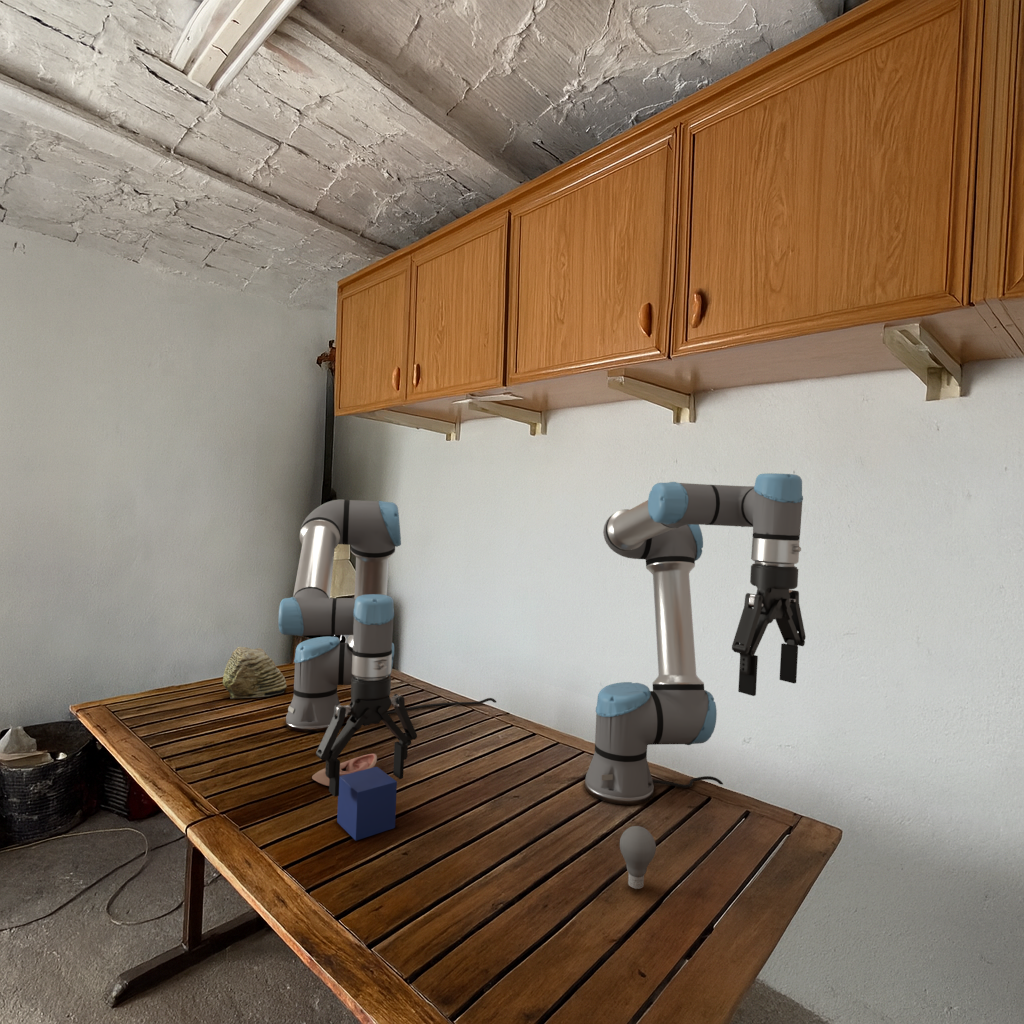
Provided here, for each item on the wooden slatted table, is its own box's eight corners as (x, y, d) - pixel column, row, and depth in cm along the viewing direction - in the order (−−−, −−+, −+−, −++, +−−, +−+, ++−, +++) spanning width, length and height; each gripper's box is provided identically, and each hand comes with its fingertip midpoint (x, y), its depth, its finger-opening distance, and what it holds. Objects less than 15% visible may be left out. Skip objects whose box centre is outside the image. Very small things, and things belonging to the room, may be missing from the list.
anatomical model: (305, 765, 139) (330, 745, 150) (304, 783, 139) (330, 762, 151) (361, 773, 137) (383, 752, 148) (360, 791, 137) (382, 769, 148)
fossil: (218, 695, 195) (220, 647, 195) (278, 685, 208) (279, 640, 207) (228, 703, 189) (230, 653, 188) (289, 692, 201) (290, 645, 201)
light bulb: (613, 876, 109) (616, 819, 109) (647, 876, 110) (650, 819, 110) (622, 898, 103) (625, 837, 103) (658, 897, 104) (661, 837, 104)
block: (336, 822, 124) (338, 776, 124) (375, 810, 129) (376, 766, 129) (355, 841, 117) (357, 792, 117) (395, 827, 123) (397, 781, 122)
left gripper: (316, 690, 112) (312, 809, 112) (436, 671, 128) (432, 776, 128) (300, 680, 118) (296, 793, 118) (417, 663, 133) (413, 763, 134)
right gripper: (756, 569, 97) (749, 705, 98) (829, 564, 113) (823, 681, 114) (713, 563, 103) (707, 693, 104) (789, 559, 119) (783, 671, 120)
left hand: (367, 784), depth 123 cm, fingers open, 13 cm apart
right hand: (768, 687), depth 109 cm, fingers open, 13 cm apart
